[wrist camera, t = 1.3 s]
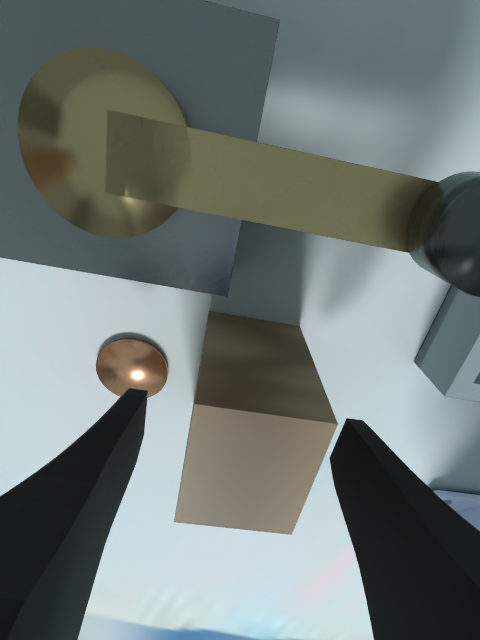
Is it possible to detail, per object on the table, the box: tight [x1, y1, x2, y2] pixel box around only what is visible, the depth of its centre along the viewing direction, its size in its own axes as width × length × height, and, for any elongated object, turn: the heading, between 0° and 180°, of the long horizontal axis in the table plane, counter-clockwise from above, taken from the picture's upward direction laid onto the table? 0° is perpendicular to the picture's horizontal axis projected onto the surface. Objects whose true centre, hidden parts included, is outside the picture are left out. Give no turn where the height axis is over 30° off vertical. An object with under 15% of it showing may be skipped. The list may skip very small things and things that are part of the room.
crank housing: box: [0, 0, 280, 398], centre depth 12 cm, size 7×14×3 cm, turn 169°
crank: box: [18, 47, 480, 297], centre depth 8 cm, size 12×4×3 cm, turn 79°
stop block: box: [174, 311, 338, 535], centre depth 13 cm, size 4×5×6 cm
